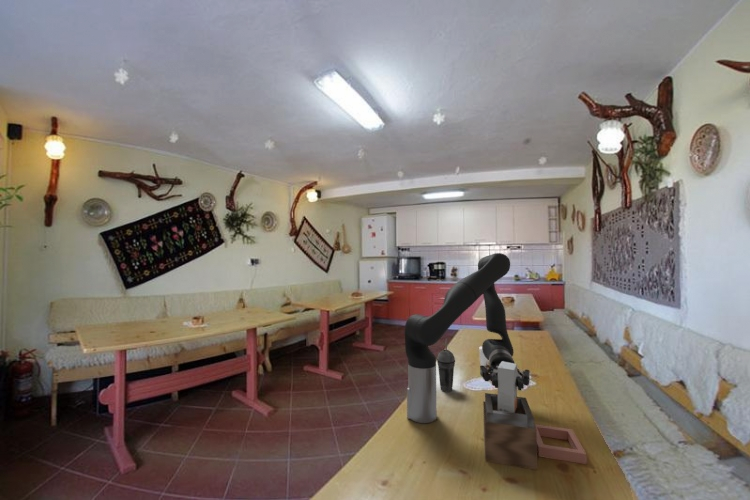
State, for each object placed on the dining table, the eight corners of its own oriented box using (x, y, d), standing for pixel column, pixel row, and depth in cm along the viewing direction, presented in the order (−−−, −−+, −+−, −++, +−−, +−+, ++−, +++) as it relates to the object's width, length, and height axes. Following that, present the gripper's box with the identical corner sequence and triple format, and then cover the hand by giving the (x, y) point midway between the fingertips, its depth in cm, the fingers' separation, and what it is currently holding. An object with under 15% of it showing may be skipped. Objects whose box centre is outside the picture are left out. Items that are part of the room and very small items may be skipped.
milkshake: (491, 367, 149) (491, 346, 149) (479, 366, 150) (479, 345, 150) (489, 364, 154) (489, 343, 154) (478, 363, 155) (478, 343, 155)
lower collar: (538, 456, 82) (538, 446, 82) (530, 432, 93) (530, 423, 93) (586, 464, 79) (586, 454, 79) (572, 438, 90) (571, 429, 90)
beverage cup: (435, 391, 122) (434, 340, 123) (438, 384, 129) (438, 336, 129) (454, 394, 119) (453, 342, 120) (456, 387, 126) (456, 337, 127)
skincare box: (514, 416, 81) (514, 370, 81) (497, 412, 83) (497, 367, 83) (517, 406, 86) (517, 363, 86) (501, 402, 88) (501, 360, 88)
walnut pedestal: (485, 460, 80) (485, 411, 81) (483, 435, 92) (483, 392, 92) (537, 470, 77) (536, 418, 77) (528, 442, 88) (527, 397, 88)
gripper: (477, 350, 101) (479, 368, 84) (526, 354, 96) (538, 374, 80) (478, 373, 100) (479, 396, 84) (527, 378, 96) (538, 403, 80)
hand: (508, 385), depth 82 cm, fingers closed on skincare box, 5 cm apart
